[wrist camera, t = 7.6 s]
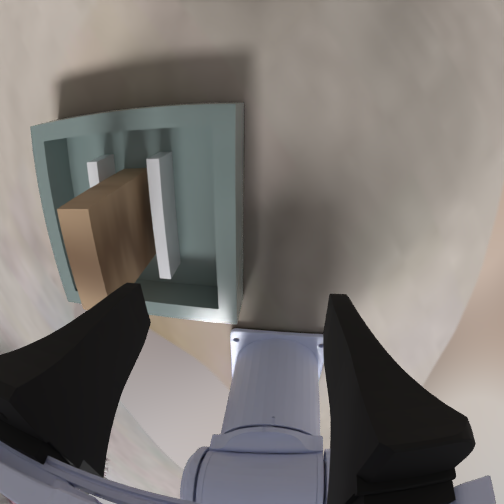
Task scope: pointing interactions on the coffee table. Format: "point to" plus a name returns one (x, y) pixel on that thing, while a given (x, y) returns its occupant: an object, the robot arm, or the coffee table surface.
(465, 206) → the coffee table surface
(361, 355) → the robot arm
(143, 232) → the wood block
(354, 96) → the coffee table surface
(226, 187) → the slotted divider tray
